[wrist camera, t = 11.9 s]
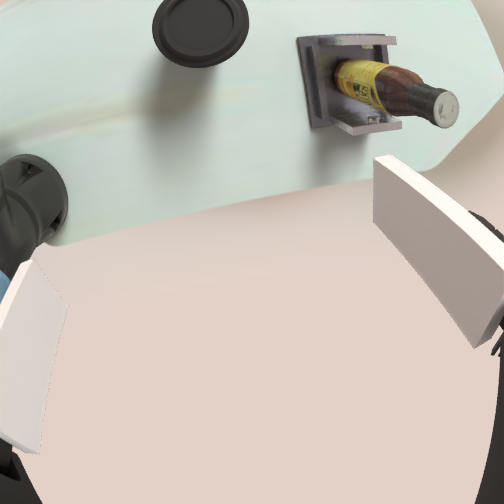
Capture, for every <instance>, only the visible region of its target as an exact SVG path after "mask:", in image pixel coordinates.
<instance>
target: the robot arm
mask: <svg viewBox="0 0 504 504" xmlns="http://www.w3.org/2000/svg"><path fill="white" fill-rule="evenodd" d="M373 167H374V198H373V222H374V223H375V224H376V225H377V226H378V227H379V229H380V230H381V231H382V232H383V233H384V234H385V235H386V236H387V238H388V239H389V240H390V241H391V242H392V243H393V244H394V245H395V247H396V248H397V249H398V250H399V251H400V252H401V254H402V255H403V256H404V257H405V258H406V260H407V261H408V262H409V263H410V264H411V266H412V267H413V268H414V269H415V271H416V272H417V273H418V274H419V275H420V277H421V278H422V279H423V280H424V281H425V283H426V284H427V285H428V287H429V288H430V289H431V291H432V292H433V293H434V294H435V296H436V297H437V298H438V300H439V301H440V302H441V304H442V305H443V306H444V308H445V309H446V310H447V312H448V313H449V314H450V316H451V317H452V318H453V320H454V321H455V322H456V324H457V325H458V327H459V328H460V330H461V331H462V332H463V334H464V335H465V337H466V338H467V340H468V341H469V342H470V344H471V345H472V347H473V348H474V349H475V348H477V347H478V346H480V345H481V344H483V343H484V342H486V341H488V340H489V339H491V338H492V336H493V335H494V333H495V331H496V329H497V328H498V326H499V325H500V326H501V328H502V329H503V330H504V236H503V234H501V233H500V232H499V231H498V230H495V227H494V226H493V225H491V224H490V223H489V222H488V221H487V220H486V219H484V218H483V217H481V216H479V215H477V214H475V213H473V212H471V211H467V210H465V209H464V208H463V207H462V206H460V205H459V204H458V203H457V202H455V201H454V200H453V199H452V198H450V197H449V196H448V195H447V194H445V193H444V192H442V191H441V190H440V189H439V188H437V187H436V186H435V185H433V184H432V183H431V182H429V181H428V180H427V179H425V178H424V177H422V176H421V175H420V174H418V173H417V172H415V171H414V170H413V169H411V168H410V167H408V166H407V165H405V164H404V163H402V162H401V161H399V160H398V159H396V158H395V157H393V156H392V155H386V156H381V157H376V158H373ZM67 209H68V196H67V191H66V187H65V184H64V182H63V180H62V178H61V176H60V175H59V173H58V172H57V170H56V169H55V168H54V167H53V166H52V165H51V164H50V163H48V162H47V161H46V160H44V159H42V158H40V157H38V156H35V155H31V154H21V155H17V156H14V157H12V158H10V159H9V160H8V161H6V162H5V163H4V164H3V165H1V166H0V504H42V502H41V500H40V498H39V496H38V494H37V493H36V491H35V489H34V487H33V485H32V483H31V481H30V479H29V477H28V475H27V473H26V471H25V469H24V467H23V465H22V462H21V460H20V458H19V457H18V455H17V454H16V453H14V452H12V446H14V447H16V448H18V449H20V450H21V451H23V452H25V453H33V454H40V447H41V437H42V428H43V421H44V414H45V407H46V401H47V395H48V389H49V384H50V379H51V374H52V369H53V365H54V360H55V356H56V351H57V347H58V343H59V339H60V335H61V331H62V328H63V324H64V321H65V317H66V314H67V310H68V306H67V304H66V303H65V302H64V300H63V299H62V298H61V296H60V295H59V294H58V292H57V291H56V290H55V288H54V287H53V285H52V284H51V283H50V281H49V280H48V278H47V277H46V275H45V274H44V273H43V271H42V270H41V268H40V267H39V265H38V264H37V262H36V261H35V260H34V258H32V259H30V257H31V255H32V253H33V251H34V250H35V248H36V247H38V246H39V245H41V244H42V243H44V242H45V241H47V240H48V239H50V238H51V237H52V236H53V235H54V234H55V233H56V232H57V231H58V229H59V228H60V226H61V224H62V223H63V221H64V219H65V217H66V214H67ZM29 259H30V260H29ZM499 347H500V353H499V355H498V356H499V357H500V372H499V386H498V397H497V405H496V413H495V420H494V427H493V432H492V438H491V444H490V448H489V453H488V458H487V462H486V466H485V470H484V474H483V478H482V482H481V485H480V488H479V492H478V495H477V498H476V501H475V504H504V332H503V333H502V335H501V337H500V338H499V340H498V341H497V343H496V344H495V346H494V347H493V349H492V353H491V355H495V353H496V352H497V350H498V349H499Z"/></svg>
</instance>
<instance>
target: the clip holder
mask: <svg viewBox="0 0 504 504" xmlns="http://www.w3.org/2000/svg"><path fill="white" fill-rule="evenodd" d="M297 39H298V44H299V49H300V55H301V61H302V66H303V72H304V79H305V85H306V91H307V98H308V105H309V112H310V119H311V127H312V128H318V127H323V126H329V125H336V126H337V127H339V128H341V129H342V130H344V131H346V132H347V133H349V134H351V135H352V136H356V135H363V134H369V133H376V132H383V131H390V130H398V129H402V121H401V120H399V119H396V118H394V117H392V115H390V114H388V113H386V112H384V111H381V110H379V109H376V108H374V107H372V106H370V105H367V104H365V103H362V102H360V101H357V100H355V99H352V98H350V97H348V96H347V95H345V94H344V93H342V92H341V91H340V90H339V88H338V87H337V85H336V82H335V77H334V76H335V70H336V68H337V67H338V65H339V64H340V63H341V62H343V61H344V60H347V59H363V60H369V61H374V62H379V63H384V64H389V60H388V51H387V45H397V43H396V37H395V36H385V34H335V35H318V36H305V37H297Z"/></svg>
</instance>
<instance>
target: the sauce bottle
mask: <svg viewBox="0 0 504 504" xmlns="http://www.w3.org/2000/svg"><path fill="white" fill-rule="evenodd" d="M334 77H335V82H336V85H337V87H338V88H339V90H340V91H341V92H342V93H344V94H345V95H347V96H348V97H350V98H352V99H355V100H357V101H360V102H362V103H365V104H367V105H370V106H372V107H374V108H376V109H379V110H381V111H384V112H386V113H388V114H390V115H393V116H397V117H398V116H418V117H422V118H425V119H426V120H429V121H430V122H431V123H432V124H433V125H435V126H438V127H440V128H445V129H446V128H449V127H451V126H452V125H453V124H454V123H455V122H456V120H457V118H458V114H459V103H458V100H457V97H456V96H455V95H454V94H453V93H452V92H450V91H448V90H445V89H442V88H434V87H431V86H429V85H427V84H424V82H423V81H422V79H421V78H420V77H419V76H418V75H417V74H415V73H414V72H412V71H410V70H407V69H403V68H400V67H397V66H393V65H389V64H384V63H379V62H374V61H369V60H363V59H347V60H344V61H343V62H341V63H340V64H339V65H338V67H337V68H336V70H335V76H334Z"/></svg>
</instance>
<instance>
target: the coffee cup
mask: <svg viewBox="0 0 504 504" xmlns="http://www.w3.org/2000/svg"><path fill="white" fill-rule="evenodd" d="M248 30H249V16H248V11H247V8H246V6H245V4H244V2H243V0H164V1H163V2H162V3H161V4H160V6H159V7H158V9H157V11H156V13H155V16H154V19H153V24H152V33H153V38H154V41H155V44H156V46H157V47H158V49H159V50H160V52H161V53H162V54H163V55H164V56H165V57H166V58H168V59H169V60H171V61H172V62H174V63H176V64H179V65H181V66H185V67H190V68H205V67H210V66H214V65H217V64H220V63H222V62H224V61H226V60H227V59H229V58H230V57H232V56H233V55H234V54H235V53H236V52H237V51H238V50H239V49H240V48H241V46H242V45H243V43H244V41H245V39H246V37H247V34H248Z"/></svg>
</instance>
